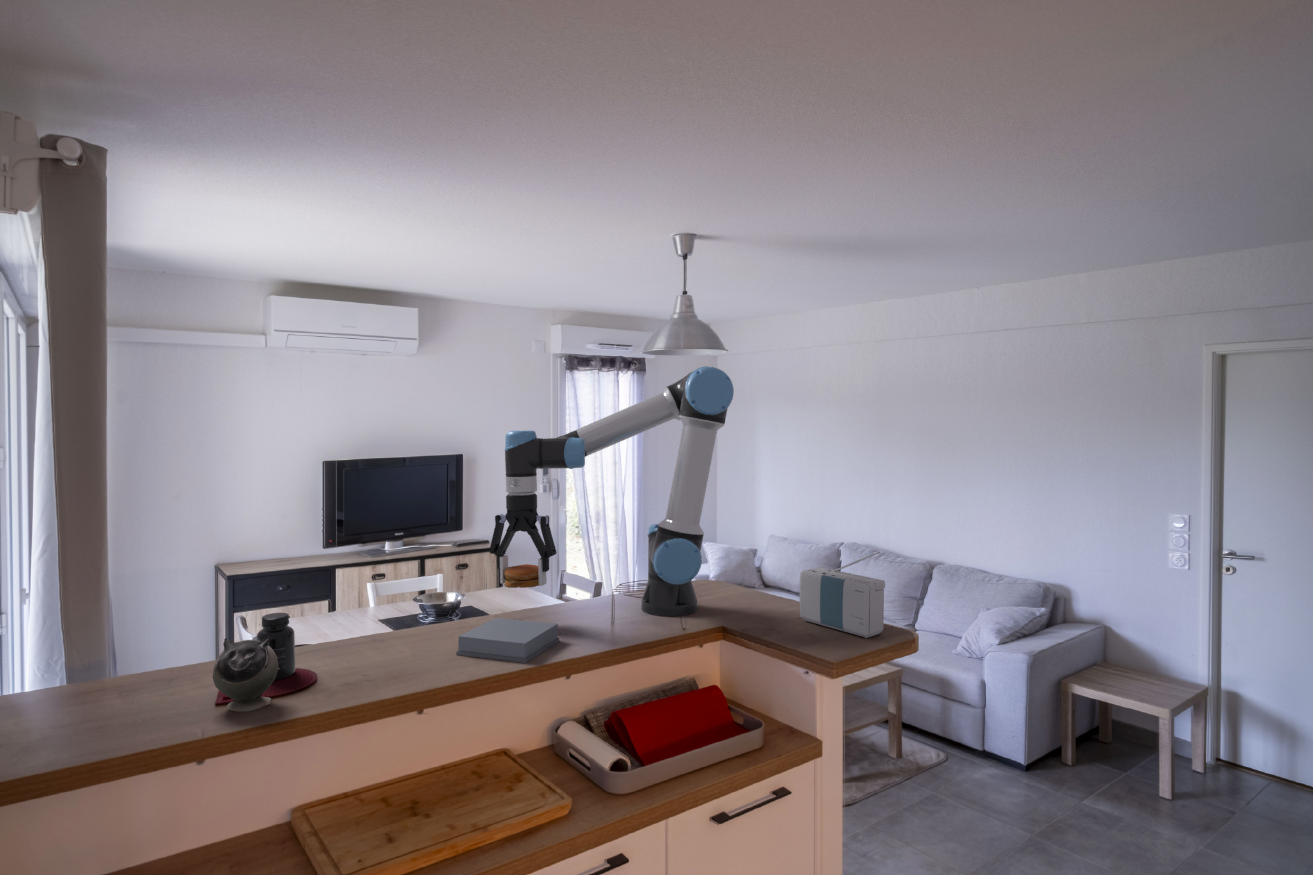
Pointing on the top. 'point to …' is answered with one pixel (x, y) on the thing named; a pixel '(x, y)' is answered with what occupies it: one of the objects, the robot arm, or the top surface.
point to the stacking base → (508, 640)
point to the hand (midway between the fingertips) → (523, 583)
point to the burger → (521, 576)
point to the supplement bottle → (280, 641)
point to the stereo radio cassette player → (842, 600)
